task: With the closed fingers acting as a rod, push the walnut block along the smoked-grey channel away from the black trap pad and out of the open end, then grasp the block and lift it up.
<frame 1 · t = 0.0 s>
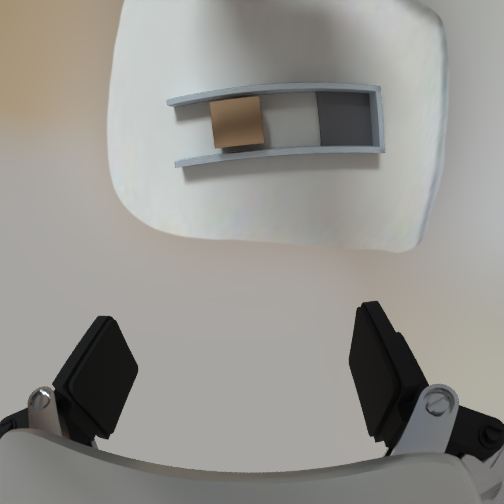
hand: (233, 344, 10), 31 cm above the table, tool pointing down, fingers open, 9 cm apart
walnut block: (239, 123, 35), resting in channel
channel: (246, 122, 34), on the table
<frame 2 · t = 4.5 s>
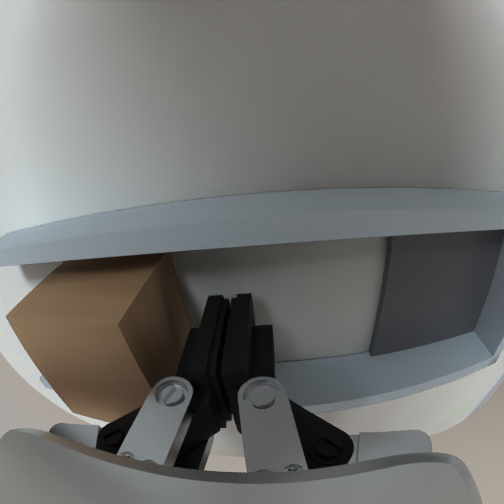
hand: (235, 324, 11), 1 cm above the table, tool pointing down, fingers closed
walnut block: (130, 309, 12), resting in channel, touching gripper
channel: (167, 306, 12), on the table
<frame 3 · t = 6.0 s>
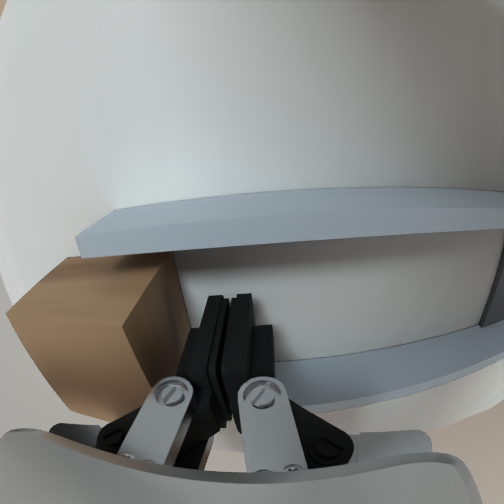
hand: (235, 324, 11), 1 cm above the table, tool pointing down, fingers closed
walnut block: (130, 308, 12), on the table, touching gripper
channel: (354, 293, 12), on the table
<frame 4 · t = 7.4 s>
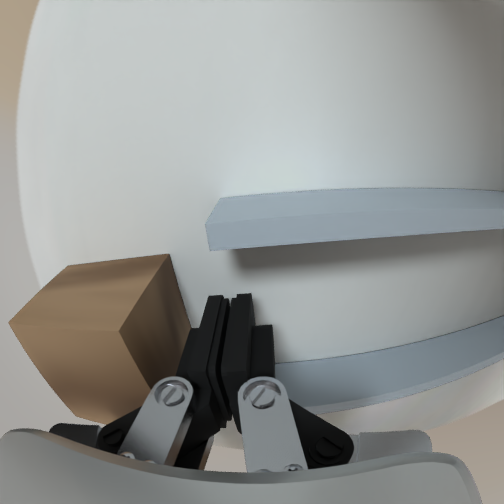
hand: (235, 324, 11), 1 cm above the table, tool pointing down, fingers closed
walnut block: (131, 313, 13), on the table, touching gripper
channel: (436, 283, 11), on the table
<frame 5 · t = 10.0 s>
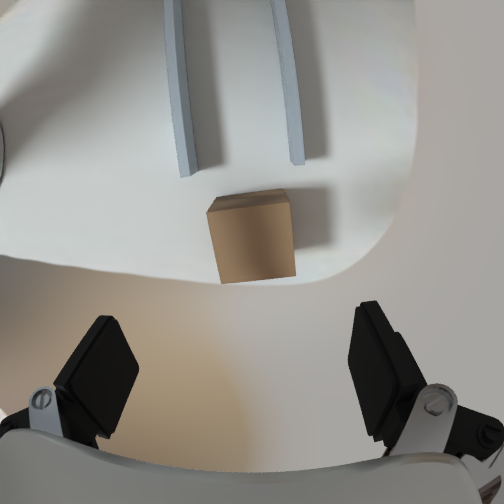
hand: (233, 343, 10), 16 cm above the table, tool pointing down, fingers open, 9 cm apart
walnut block: (254, 224, 25), on the table
channel: (231, 56, 19), on the table
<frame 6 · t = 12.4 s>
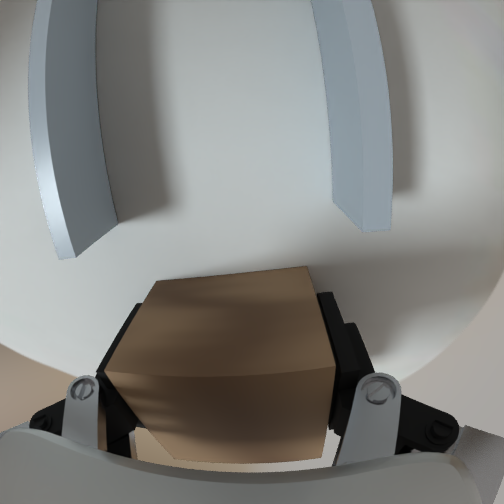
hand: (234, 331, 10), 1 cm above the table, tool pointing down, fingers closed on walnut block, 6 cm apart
walnut block: (240, 333, 12), on the table, touching gripper
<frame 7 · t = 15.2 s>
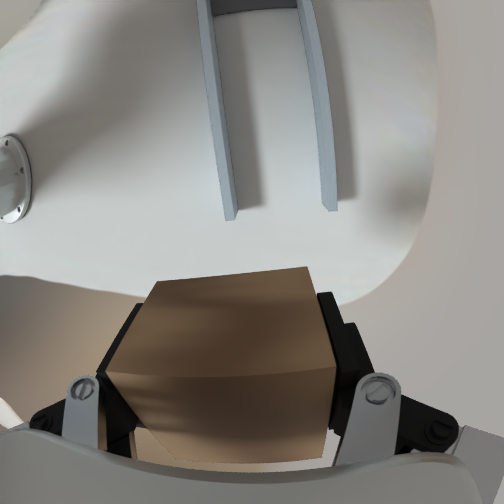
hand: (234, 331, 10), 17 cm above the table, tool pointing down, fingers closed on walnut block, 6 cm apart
walnut block: (240, 333, 12), point 16 cm above the table, touching gripper
channel: (268, 100, 22), on the table
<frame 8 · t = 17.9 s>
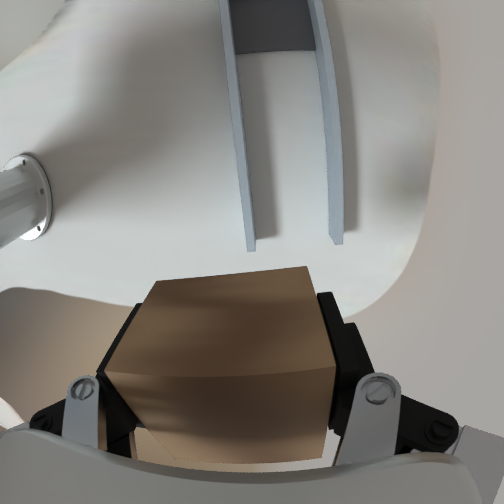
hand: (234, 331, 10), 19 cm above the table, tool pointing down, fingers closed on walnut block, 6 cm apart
walnut block: (240, 333, 12), point 19 cm above the table, touching gripper
channel: (286, 143, 25), on the table
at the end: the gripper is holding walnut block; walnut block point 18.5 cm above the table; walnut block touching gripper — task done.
